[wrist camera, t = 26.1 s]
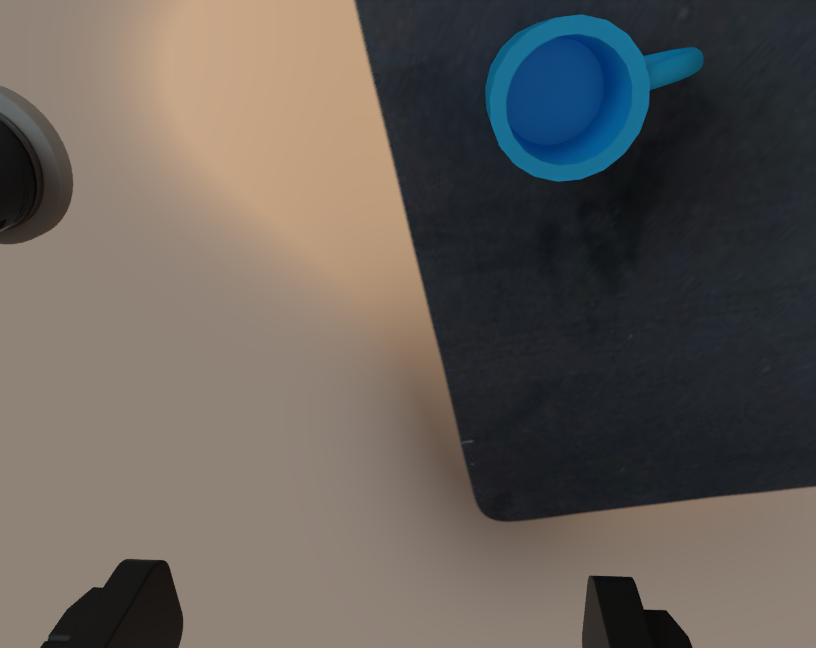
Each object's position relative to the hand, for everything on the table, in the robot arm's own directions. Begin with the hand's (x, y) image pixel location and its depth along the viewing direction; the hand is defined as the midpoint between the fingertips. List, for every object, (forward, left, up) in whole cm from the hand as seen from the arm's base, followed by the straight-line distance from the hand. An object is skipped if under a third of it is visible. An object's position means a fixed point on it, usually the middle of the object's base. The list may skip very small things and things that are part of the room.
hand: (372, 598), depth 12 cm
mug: (+5, +10, -34) cm, 36 cm away
